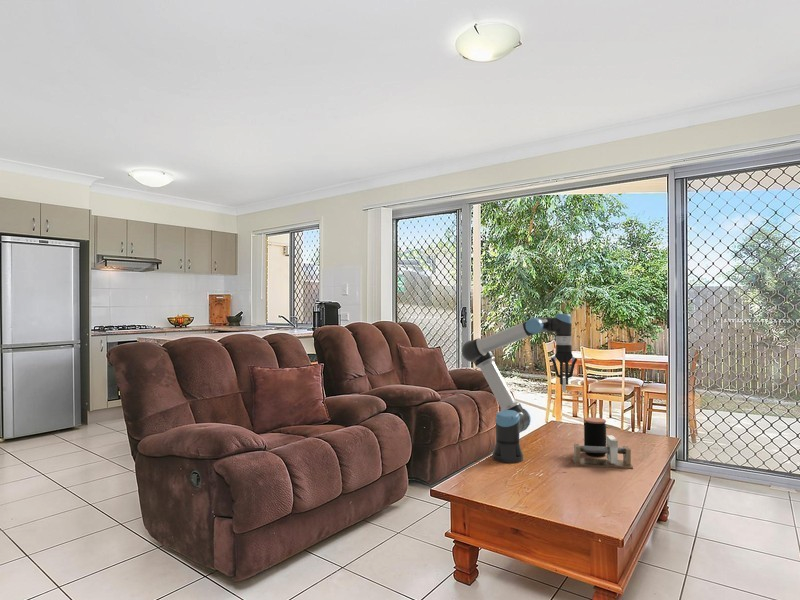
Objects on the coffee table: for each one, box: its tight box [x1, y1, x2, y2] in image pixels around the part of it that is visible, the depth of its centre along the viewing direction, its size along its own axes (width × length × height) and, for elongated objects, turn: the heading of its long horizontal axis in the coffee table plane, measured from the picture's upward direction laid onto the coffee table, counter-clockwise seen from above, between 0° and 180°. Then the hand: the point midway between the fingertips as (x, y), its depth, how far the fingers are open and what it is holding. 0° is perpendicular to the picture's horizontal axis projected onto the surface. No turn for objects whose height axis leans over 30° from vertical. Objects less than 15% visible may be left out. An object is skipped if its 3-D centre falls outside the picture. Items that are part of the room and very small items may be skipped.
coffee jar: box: [583, 416, 607, 458], centre depth 265 cm, size 11×11×18 cm
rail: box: [572, 443, 634, 470], centre depth 248 cm, size 26×10×9 cm, turn 79°
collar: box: [606, 434, 619, 464], centre depth 247 cm, size 3×10×11 cm, turn 169°
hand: (564, 391), depth 256 cm, fingers closed
